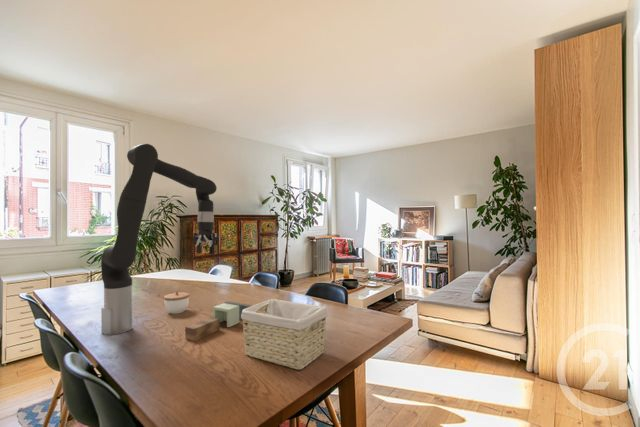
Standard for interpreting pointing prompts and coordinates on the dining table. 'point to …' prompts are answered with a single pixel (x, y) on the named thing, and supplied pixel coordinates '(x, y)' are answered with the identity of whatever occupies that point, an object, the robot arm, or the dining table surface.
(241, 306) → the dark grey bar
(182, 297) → the lidded jar
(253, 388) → the dining table surface
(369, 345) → the dining table surface
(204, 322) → the walnut block
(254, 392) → the dining table surface
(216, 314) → the sage block
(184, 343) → the dining table surface
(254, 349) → the storage basket
